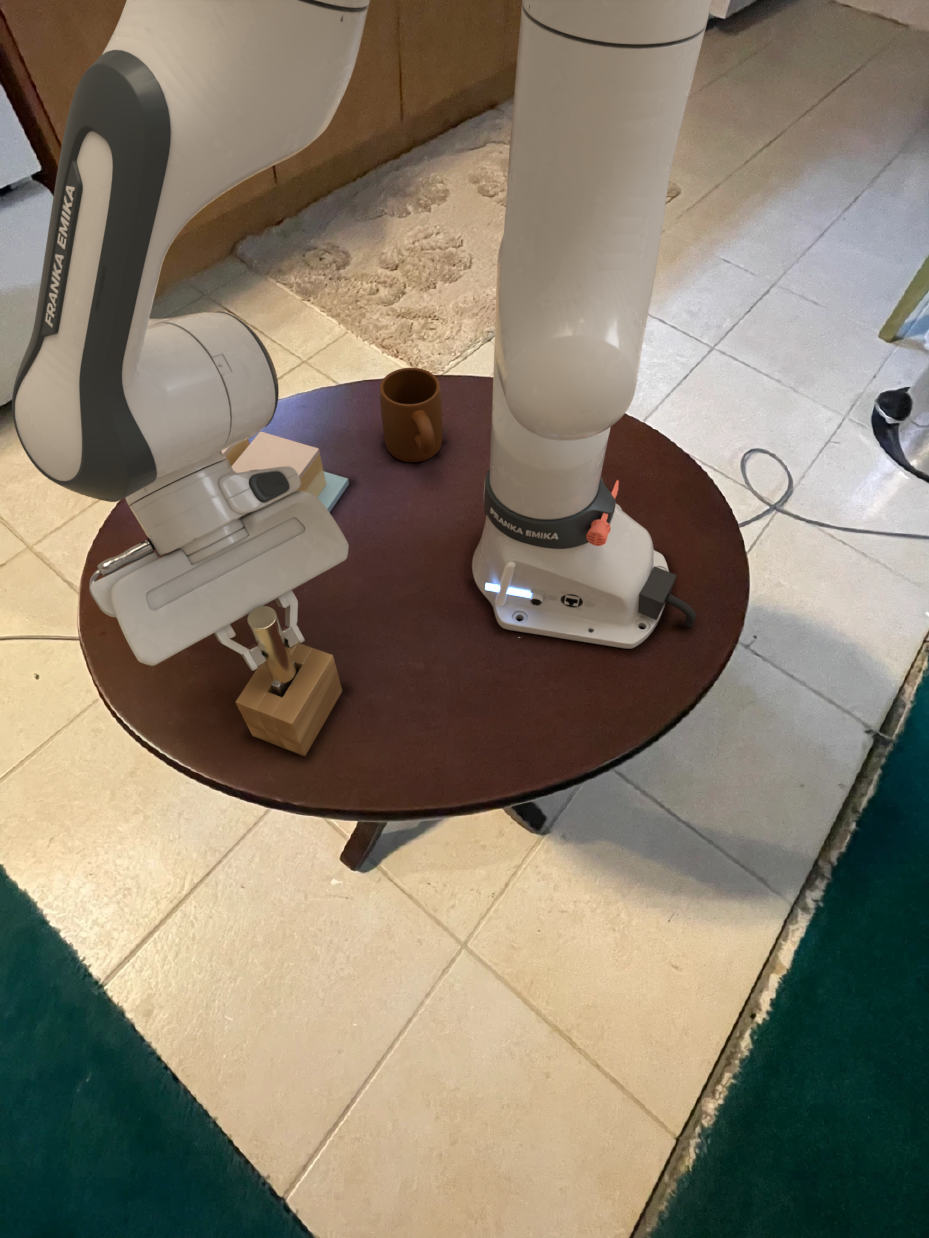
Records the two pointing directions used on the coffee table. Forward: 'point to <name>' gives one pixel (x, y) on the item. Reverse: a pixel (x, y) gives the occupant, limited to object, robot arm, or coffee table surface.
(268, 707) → the knife block
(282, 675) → the knife
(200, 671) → the coffee table surface
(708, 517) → the coffee table surface
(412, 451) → the mug
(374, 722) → the coffee table surface
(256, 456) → the cake
